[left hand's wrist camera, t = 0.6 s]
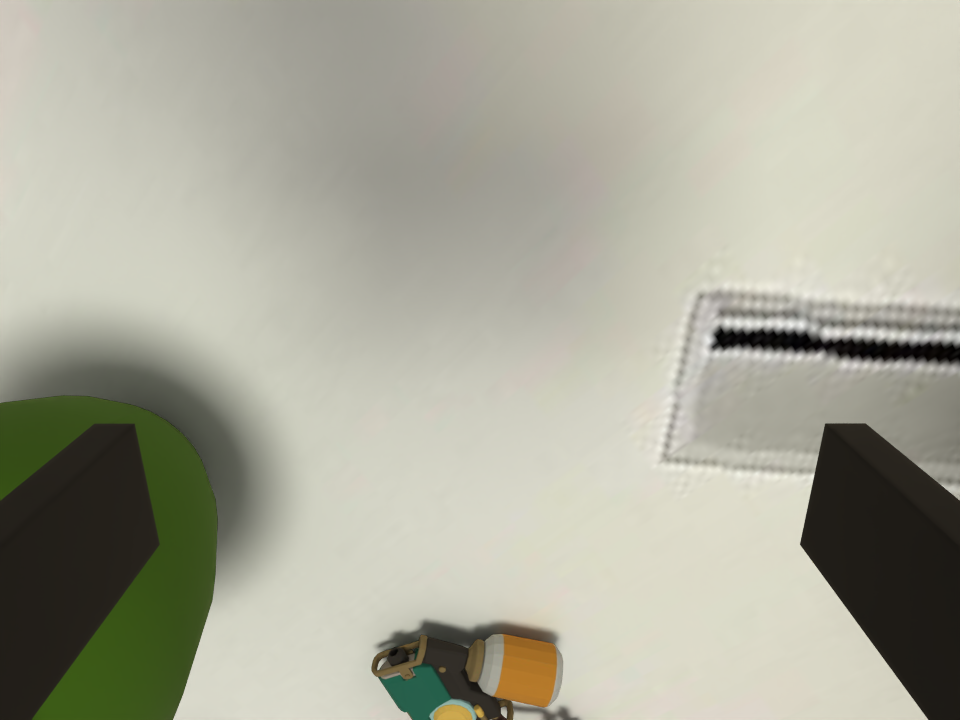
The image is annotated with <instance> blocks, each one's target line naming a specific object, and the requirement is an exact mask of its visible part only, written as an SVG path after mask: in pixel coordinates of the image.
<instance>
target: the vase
mask: <svg viewBox="0 0 960 720" xmlns="http://www.w3.org/2000/svg"><path fill="white" fill-rule="evenodd" d="M93 424H135V427H136V432H137V437H138V442H139V447H140V451H141V456H142V461H143V466H144V471H145V475H146V480H147V485H148V490H149V495H150V499H151V504H152V509H153V514H154V519H155V523H156V528H157V533H158V538H159V543H160V545H159V546H158V548H157V549H156V551H155V552H154V553H153V555H152V556H151V557H150V559H149V560H148V561H147V563H146V564H145V566H144V567H143V568H142V570H141V571H140V572H139V574H138V575H137V576H136V578H135V579H134V581H133V582H132V583H131V585H130V586H129V587H128V589H127V590H126V591H125V593H124V594H123V596H122V597H121V598H120V600H119V601H118V602H117V604H116V605H115V606H114V608H113V609H112V611H111V612H110V613H109V615H108V616H107V617H106V619H105V620H104V622H103V623H102V624H101V626H100V627H99V628H98V630H97V631H96V632H95V634H94V635H93V637H92V638H91V639H90V641H89V642H88V643H87V645H86V646H85V647H84V649H83V650H82V652H81V653H80V654H79V656H78V657H77V658H76V660H75V661H74V662H73V664H72V665H71V667H70V668H69V669H68V671H67V672H66V673H65V675H64V676H63V677H62V679H61V680H60V682H59V683H58V684H57V686H56V687H55V688H54V690H53V691H52V692H51V694H50V695H49V697H48V698H47V699H46V701H45V702H44V703H43V705H42V706H41V707H40V709H39V710H38V712H37V713H36V714H35V716H34V717H33V718H32V720H173V718H174V716H175V713H176V711H177V708H178V706H179V703H180V701H181V698H182V696H183V693H184V689H185V686H186V683H187V680H188V677H189V674H190V670H191V667H192V664H193V661H194V658H195V654H196V651H197V648H198V645H199V642H200V638H201V635H202V632H203V629H204V626H205V622H206V619H207V616H208V613H209V610H210V606H211V603H212V599H213V591H214V582H215V572H216V547H217V523H218V518H217V509H216V501H215V497H214V494H213V491H212V488H211V485H210V482H209V479H208V477H207V474H206V471H205V468H204V465H203V463H202V460H201V459H200V457H199V455H198V453H197V452H196V450H195V448H194V447H193V445H192V444H191V443H190V442H189V441H188V440H187V438H186V437H185V436H184V435H183V434H182V433H181V432H180V431H179V430H177V429H176V428H175V427H174V426H173V425H171V424H170V423H169V422H168V421H166V420H164V419H163V418H161V417H159V416H157V415H156V414H154V413H152V412H150V411H147V410H145V409H142V408H140V407H137V406H135V405H130V404H125V403H120V402H115V401H110V400H105V399H100V398H95V397H89V396H65V395H62V396H54V397H46V398H37V399H29V400H21V401H12V402H4V403H0V501H1V500H2V499H3V498H4V497H5V496H7V495H8V494H9V493H10V492H11V491H13V490H14V489H15V488H16V487H18V486H19V485H20V484H21V483H22V482H24V481H25V480H26V479H27V478H29V477H30V476H31V475H32V474H33V473H35V472H36V471H37V470H38V469H40V468H41V467H42V466H43V465H44V464H46V463H47V462H48V461H49V460H51V459H52V458H53V457H54V456H55V455H57V454H58V453H59V452H60V451H62V450H63V449H64V448H65V447H66V446H68V445H69V444H70V443H71V442H73V441H74V440H75V439H76V438H77V437H79V436H80V435H81V434H82V433H84V432H85V431H86V430H87V429H88V428H90V427H91V426H92V425H93Z"/></svg>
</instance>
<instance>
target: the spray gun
mask: <svg viewBox="0 0 960 720" xmlns="http://www.w3.org/2000/svg"><path fill="white" fill-rule="evenodd" d="M417 647H419V648H418V649H416V650H415V653H414V652H413V650H412V649H414V648H417ZM387 656H388V661H386V662H385V663H384V664H383V665H382V666H381V668H380V670H377V667H378V663H379V661H380V660H381V659H382V658H384V657H387ZM464 668H465V669H466V671H467V672H466V671H465V669H464ZM372 672H373V674H374V675H375V676H376V677H378V678H379V679H380V681H381V682H382V684H383V685H384V687H385V688H386V690H387V691H388V693H389V694H390V696H391V697H392V699H393V700H394V702H395V703H396V705H397V706H398V708H399V709H400V710H401V711H403V712H407V713H408V714H409V716H410V717H411V719H412V720H490V719H492V720H513V714H514V711H513V705H512V702H511V701H510V700H512V701H516V702H521V703H526V704H530V705H535V706H540V707H547V706H550V705H551V704H552V703H553V702H554V701H555V699H556V698H557V696H558V694H559V691H560V688H561V683H562V675H563V658H562V655H561V653H560V652H559V650H558V648H557V647H556V646H555V645H554V644H553V643H548V642H543V641H537V640H532V639H527V638H521V637H516V636H511V635H506V634H494V635H491V636H490V637H489V638H488V639H486V640H485V641H483V640H480V639H477V640H475V642H474V643H473V644H472V646H471V647H470V648H469V649H468V648H466V647H463V646H460V645H457V644H453V643H449V642H445V641H442V640H438V639H434V638H430V637H428V638H427V636H425V635H421V636H420V638H419V641H416V642H413V643H410V644H406V645H403V646H399V647H394V648H393V649H389V650H386V651H383V652H381V653H379V654H377V655H376V656H375V657H374V660H373V663H372ZM495 697H498V698H502V699H504V700H500V701H497V700H496V698H495ZM504 706H506V707H507V719H506V718H505V717H503V716H502V715H501V707H504Z"/></svg>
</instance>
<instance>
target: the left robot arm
mask: <svg viewBox="0 0 960 720" xmlns="http://www.w3.org/2000/svg"><path fill="white" fill-rule="evenodd" d="M159 545H160V543H159V538H158V533H157V528H156V523H155V519H154V514H153V509H152V504H151V499H150V495H149V490H148V485H147V480H146V475H145V471H144V466H143V461H142V456H141V451H140V447H139V442H138V437H137V432H136V427H135V424H93V425H92V426H91V427H90V428H88V429H87V430H86V431H85V432H84V433H82V434H81V435H80V436H79V437H77V438H76V439H75V440H74V441H73V442H71V443H70V444H69V445H68V446H66V447H65V448H64V449H63V450H62V451H60V452H59V453H58V454H57V455H55V456H54V457H53V458H52V459H51V460H49V461H48V462H47V463H46V464H44V465H43V466H42V467H41V468H40V469H38V470H37V471H36V472H35V473H33V474H32V475H31V476H30V477H29V478H27V479H26V480H25V481H24V482H22V483H21V484H20V485H19V486H18V487H16V488H15V489H14V490H13V491H11V492H10V493H9V494H8V495H7V496H5V497H4V498H3V499H2V500H1V501H0V720H32V718H33V717H34V716H35V714H36V713H37V712H38V710H39V709H40V707H41V706H42V705H43V703H44V702H45V701H46V699H47V698H48V697H49V695H50V694H51V692H52V691H53V690H54V688H55V687H56V686H57V684H58V683H59V682H60V680H61V679H62V677H63V676H64V675H65V673H66V672H67V671H68V669H69V668H70V667H71V665H72V664H73V662H74V661H75V660H76V658H77V657H78V656H79V654H80V653H81V652H82V650H83V649H84V647H85V646H86V645H87V643H88V642H89V641H90V639H91V638H92V637H93V635H94V634H95V632H96V631H97V630H98V628H99V627H100V626H101V624H102V623H103V622H104V620H105V619H106V617H107V616H108V615H109V613H110V612H111V611H112V609H113V608H114V606H115V605H116V604H117V602H118V601H119V600H120V598H121V597H122V596H123V594H124V593H125V591H126V590H127V589H128V587H129V586H130V585H131V583H132V582H133V581H134V579H135V578H136V576H137V575H138V574H139V572H140V571H141V570H142V568H143V567H144V566H145V564H146V563H147V561H148V560H149V559H150V557H151V556H152V555H153V553H154V552H155V551H156V549H157V548H158V546H159ZM800 545H801V546H802V548H803V549H804V551H805V552H806V553H807V555H808V556H809V557H810V559H811V560H812V561H813V563H814V564H815V566H816V567H817V568H818V570H819V571H820V572H821V574H822V575H823V576H824V578H825V579H826V581H827V582H828V583H829V585H830V586H831V587H832V589H833V590H834V591H835V593H836V594H837V596H838V597H839V598H840V600H841V601H842V602H843V604H844V605H845V606H846V608H847V609H848V611H849V612H850V613H851V615H852V616H853V617H854V619H855V620H856V622H857V623H858V624H859V626H860V627H861V628H862V630H863V631H864V632H865V634H866V635H867V637H868V638H869V639H870V641H871V642H872V643H873V645H874V646H875V647H876V649H877V650H878V652H879V653H880V654H881V656H882V657H883V658H884V660H885V661H886V662H887V664H888V665H889V667H890V668H891V669H892V671H893V672H894V673H895V675H896V676H897V677H898V679H899V680H900V682H901V683H902V684H903V686H904V687H905V688H906V690H907V691H908V692H909V694H910V695H911V697H912V698H913V699H914V701H915V702H916V703H917V705H918V706H919V707H920V709H921V710H922V712H923V713H924V714H925V716H926V717H927V718H928V720H960V501H959V500H958V499H957V498H956V497H955V496H953V495H952V494H951V493H950V492H949V491H947V490H946V489H945V488H944V487H942V486H941V485H940V484H939V483H938V482H936V481H935V480H934V479H933V478H931V477H930V476H929V475H928V474H927V473H925V472H924V471H923V470H922V469H920V468H919V467H918V466H917V465H916V464H914V463H913V462H912V461H911V460H909V459H908V458H907V457H906V456H905V455H903V454H902V453H901V452H900V451H898V450H897V449H896V448H895V447H894V446H892V445H891V444H890V443H889V442H887V441H886V440H885V439H884V438H883V437H881V436H880V435H879V434H878V433H876V432H875V431H874V430H873V429H872V428H870V427H869V426H868V425H867V424H825V427H824V432H823V437H822V442H821V447H820V451H819V456H818V461H817V466H816V471H815V475H814V480H813V485H812V490H811V495H810V499H809V504H808V509H807V514H806V519H805V523H804V528H803V533H802V538H801V542H800Z"/></svg>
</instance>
